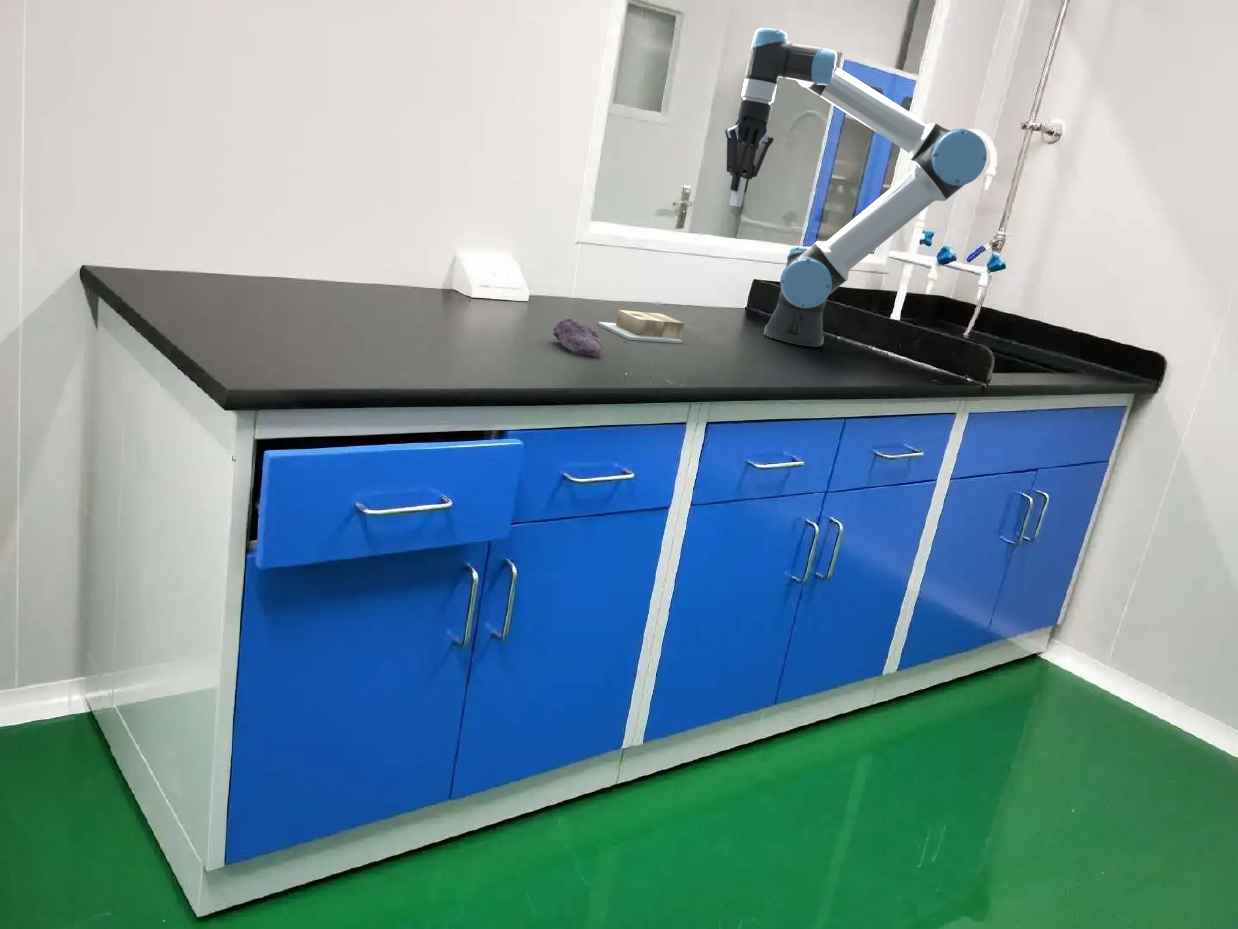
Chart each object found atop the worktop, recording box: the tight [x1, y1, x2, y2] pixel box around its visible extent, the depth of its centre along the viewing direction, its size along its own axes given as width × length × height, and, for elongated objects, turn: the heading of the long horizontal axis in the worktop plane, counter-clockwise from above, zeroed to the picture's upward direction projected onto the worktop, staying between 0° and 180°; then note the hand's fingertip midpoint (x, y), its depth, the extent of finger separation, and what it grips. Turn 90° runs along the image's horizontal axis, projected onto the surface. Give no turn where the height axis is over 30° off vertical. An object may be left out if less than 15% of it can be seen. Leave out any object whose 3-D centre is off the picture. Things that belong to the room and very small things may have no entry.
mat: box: [597, 321, 683, 344], centre depth 227 cm, size 14×14×1 cm
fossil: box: [552, 318, 603, 358], centre depth 198 cm, size 8×14×5 cm, turn 31°
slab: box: [615, 309, 685, 339], centre depth 228 cm, size 4×9×12 cm
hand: (734, 205), depth 239 cm, fingers closed
